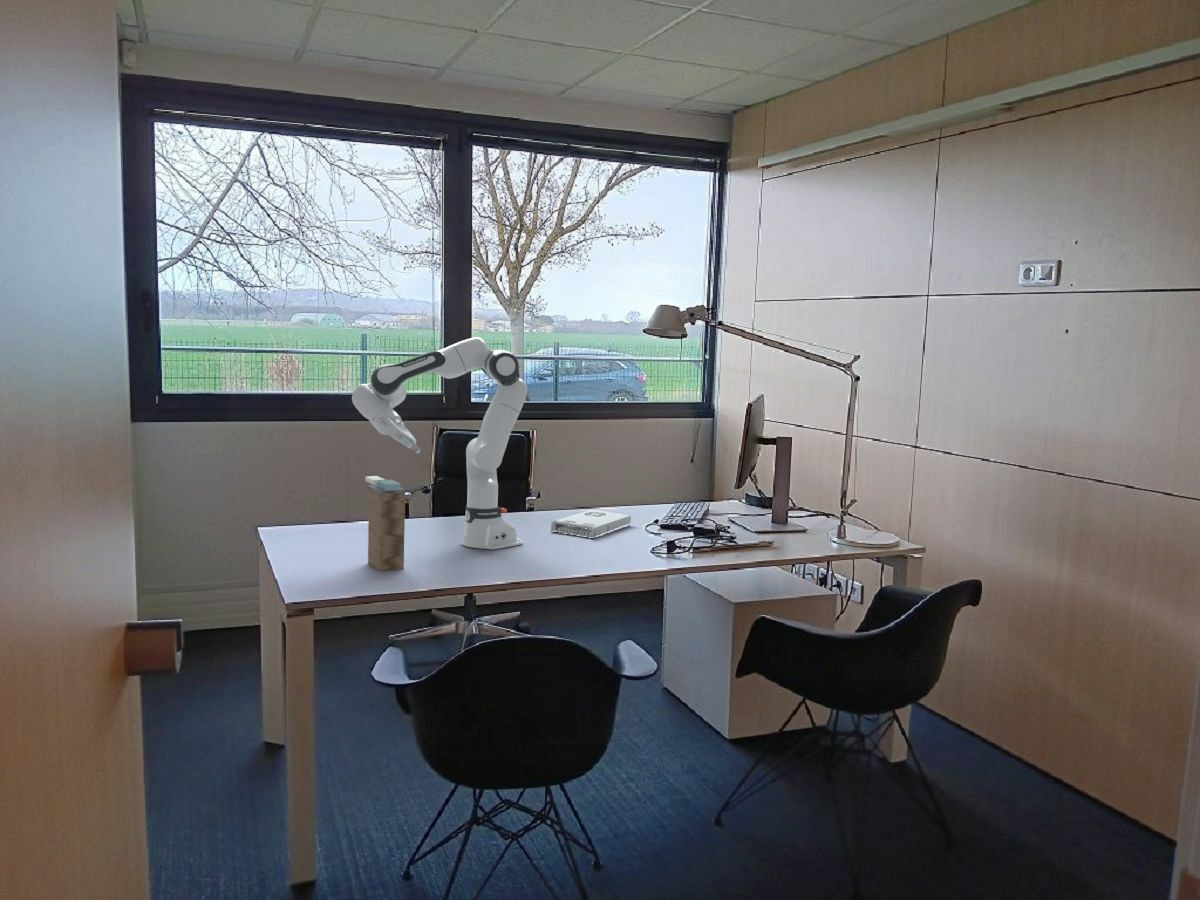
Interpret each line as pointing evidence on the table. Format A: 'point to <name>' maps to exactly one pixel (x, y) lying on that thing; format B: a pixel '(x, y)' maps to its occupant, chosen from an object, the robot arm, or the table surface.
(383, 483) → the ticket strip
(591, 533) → the power supply unit
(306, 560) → the table surface
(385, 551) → the walnut stand
